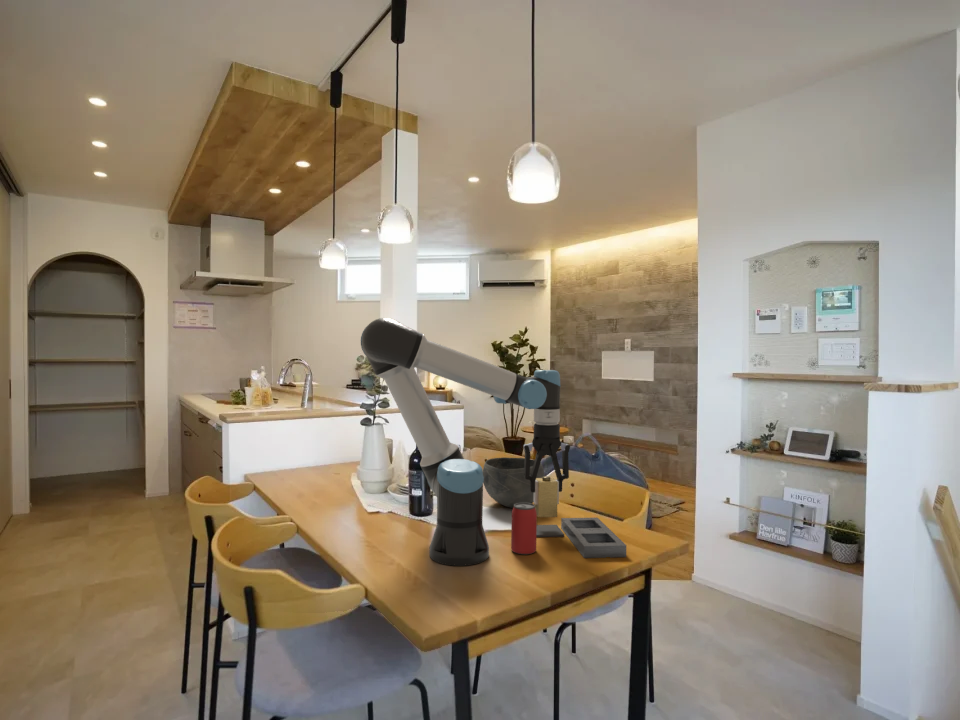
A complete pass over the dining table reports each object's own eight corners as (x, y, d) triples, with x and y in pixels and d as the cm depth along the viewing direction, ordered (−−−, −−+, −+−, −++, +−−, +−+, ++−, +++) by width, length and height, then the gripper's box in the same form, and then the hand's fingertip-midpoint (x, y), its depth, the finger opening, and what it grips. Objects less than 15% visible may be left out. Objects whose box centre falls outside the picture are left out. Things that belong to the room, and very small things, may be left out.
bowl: (483, 496, 199) (483, 455, 199) (541, 498, 198) (542, 456, 198) (480, 513, 178) (481, 467, 178) (546, 515, 177) (547, 468, 177)
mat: (532, 537, 156) (532, 535, 156) (527, 527, 165) (527, 525, 165) (564, 536, 157) (564, 534, 157) (556, 526, 166) (556, 524, 166)
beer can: (505, 550, 146) (506, 504, 145) (523, 544, 150) (524, 500, 150) (523, 557, 140) (524, 510, 140) (541, 551, 145) (542, 506, 145)
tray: (584, 558, 141) (584, 546, 141) (561, 528, 164) (561, 518, 164) (626, 557, 142) (626, 545, 142) (597, 527, 166) (597, 517, 165)
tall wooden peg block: (538, 517, 158) (538, 479, 158) (534, 511, 163) (535, 475, 163) (557, 516, 158) (557, 479, 158) (552, 511, 164) (553, 475, 164)
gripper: (517, 425, 156) (516, 507, 156) (581, 424, 158) (580, 506, 158) (513, 421, 163) (512, 500, 164) (574, 421, 165) (573, 499, 165)
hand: (546, 502), depth 161 cm, fingers closed on tall wooden peg block, 5 cm apart
